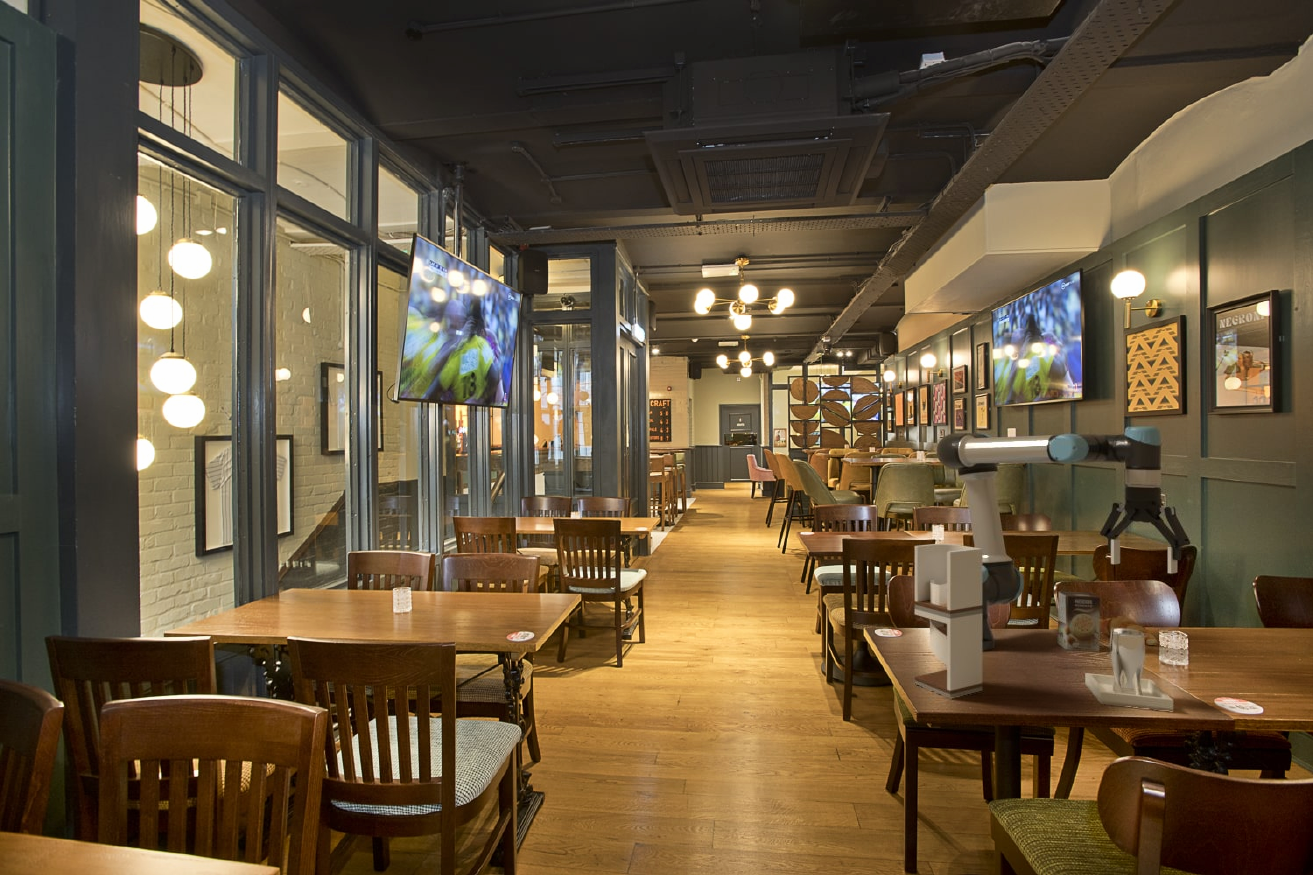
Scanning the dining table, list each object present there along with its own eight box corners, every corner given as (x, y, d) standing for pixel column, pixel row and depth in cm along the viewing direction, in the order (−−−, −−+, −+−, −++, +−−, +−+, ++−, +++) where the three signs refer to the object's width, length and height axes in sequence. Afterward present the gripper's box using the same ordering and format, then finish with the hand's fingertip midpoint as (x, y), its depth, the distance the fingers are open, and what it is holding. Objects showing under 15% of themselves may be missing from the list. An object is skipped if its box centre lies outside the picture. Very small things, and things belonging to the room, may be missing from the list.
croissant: (1164, 658, 201) (1173, 634, 202) (1142, 645, 199) (1152, 620, 200) (1098, 637, 222) (1107, 615, 223) (1078, 625, 219) (1087, 602, 220)
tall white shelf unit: (946, 677, 174) (945, 542, 174) (982, 691, 165) (982, 548, 165) (914, 684, 169) (914, 546, 169) (950, 699, 160) (950, 552, 160)
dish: (1101, 704, 157) (1101, 692, 157) (1085, 683, 170) (1085, 672, 170) (1173, 712, 152) (1173, 700, 152) (1151, 690, 165) (1151, 679, 165)
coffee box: (1066, 650, 198) (1066, 595, 198) (1057, 643, 204) (1057, 590, 204) (1100, 651, 196) (1100, 597, 196) (1090, 645, 202) (1090, 592, 202)
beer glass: (1151, 700, 157) (1151, 636, 157) (1118, 698, 158) (1117, 634, 158) (1136, 689, 164) (1136, 628, 164) (1104, 687, 165) (1104, 626, 165)
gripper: (1207, 488, 164) (1207, 575, 164) (1102, 482, 186) (1102, 559, 186) (1189, 489, 161) (1190, 578, 161) (1085, 483, 183) (1085, 561, 183)
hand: (1143, 568), depth 173 cm, fingers open, 13 cm apart
